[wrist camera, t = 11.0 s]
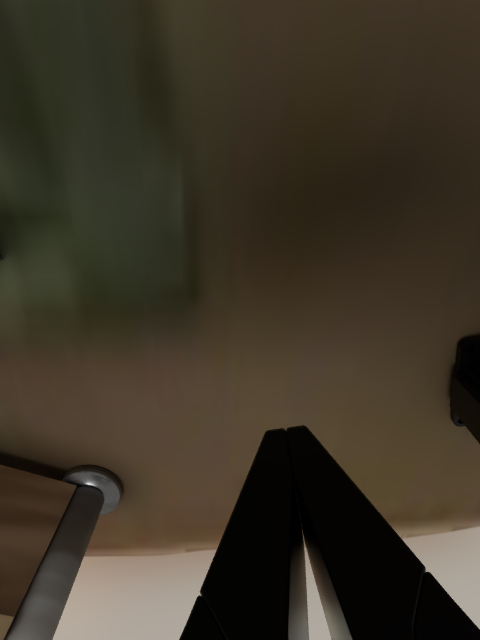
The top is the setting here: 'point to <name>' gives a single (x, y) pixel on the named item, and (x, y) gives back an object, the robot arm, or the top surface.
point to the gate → (40, 549)
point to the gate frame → (96, 482)
